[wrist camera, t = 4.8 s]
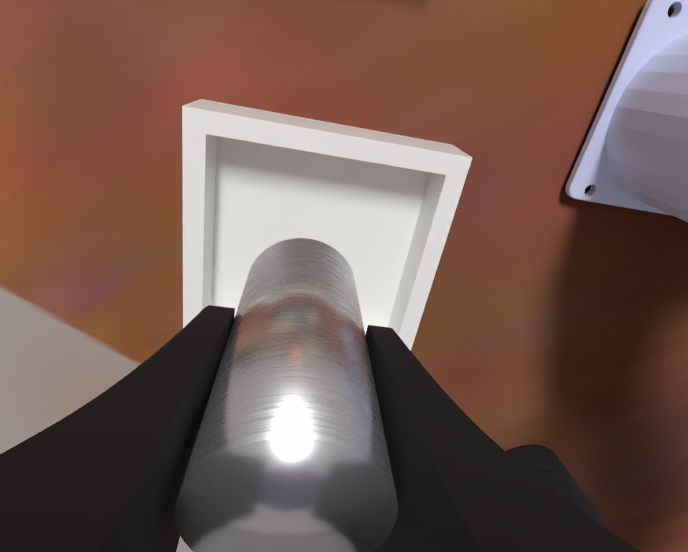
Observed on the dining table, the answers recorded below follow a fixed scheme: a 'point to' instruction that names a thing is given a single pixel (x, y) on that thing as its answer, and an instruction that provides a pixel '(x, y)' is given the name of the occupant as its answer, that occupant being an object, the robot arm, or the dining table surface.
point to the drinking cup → (555, 478)
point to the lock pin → (291, 419)
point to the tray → (314, 205)
